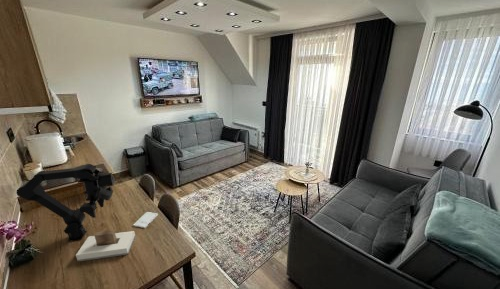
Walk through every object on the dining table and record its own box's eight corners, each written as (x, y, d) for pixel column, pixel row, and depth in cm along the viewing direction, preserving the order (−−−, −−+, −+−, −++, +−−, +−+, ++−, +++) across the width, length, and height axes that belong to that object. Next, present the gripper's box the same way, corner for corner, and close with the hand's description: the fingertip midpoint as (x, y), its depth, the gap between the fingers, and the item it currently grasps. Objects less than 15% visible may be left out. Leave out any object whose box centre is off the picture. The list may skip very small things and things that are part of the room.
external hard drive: (158, 215, 133) (145, 229, 121) (146, 213, 134) (132, 226, 123) (157, 213, 132) (144, 226, 121) (146, 211, 134) (132, 224, 122)
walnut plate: (98, 249, 105) (94, 235, 102) (100, 245, 107) (96, 232, 104) (115, 247, 106) (112, 233, 103) (117, 243, 109) (114, 230, 106)
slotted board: (77, 261, 99) (75, 255, 98) (90, 242, 110) (88, 236, 109) (127, 254, 104) (126, 248, 102) (135, 236, 115) (134, 230, 113)
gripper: (100, 196, 102) (107, 221, 107) (115, 178, 119) (120, 200, 124) (74, 198, 99) (82, 224, 105) (94, 179, 117) (100, 202, 122)
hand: (98, 212), depth 114 cm, fingers open, 9 cm apart
